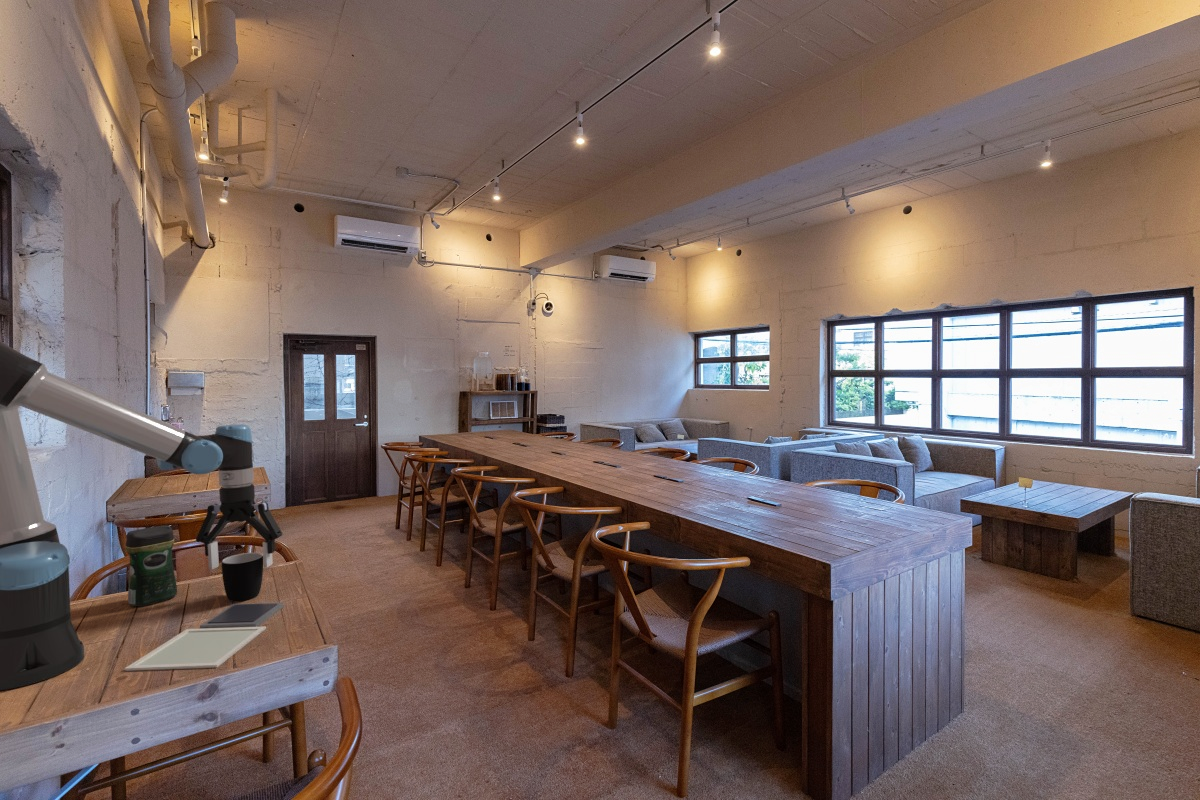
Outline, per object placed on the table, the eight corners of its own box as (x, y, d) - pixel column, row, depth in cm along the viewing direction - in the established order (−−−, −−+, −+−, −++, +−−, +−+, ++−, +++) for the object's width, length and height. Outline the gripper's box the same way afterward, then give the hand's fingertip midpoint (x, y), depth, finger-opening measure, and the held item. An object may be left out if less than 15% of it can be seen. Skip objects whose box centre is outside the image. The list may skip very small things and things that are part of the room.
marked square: (124, 670, 106) (124, 668, 106) (186, 631, 123) (186, 629, 123) (217, 667, 106) (216, 665, 106) (266, 628, 123) (266, 626, 123)
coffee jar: (170, 591, 147) (168, 521, 147) (181, 597, 142) (178, 525, 142) (123, 602, 140) (121, 529, 139) (132, 610, 135) (130, 534, 134)
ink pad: (200, 629, 123) (200, 624, 123) (233, 608, 135) (233, 603, 135) (255, 628, 124) (255, 622, 124) (283, 606, 136) (283, 601, 136)
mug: (272, 593, 144) (270, 555, 144) (236, 606, 136) (235, 565, 136) (243, 586, 150) (242, 549, 149) (207, 598, 142) (206, 559, 141)
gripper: (176, 489, 138) (180, 574, 139) (279, 486, 139) (283, 569, 140) (196, 484, 145) (201, 564, 146) (294, 480, 147) (298, 560, 147)
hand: (241, 567), depth 143 cm, fingers open, 13 cm apart
